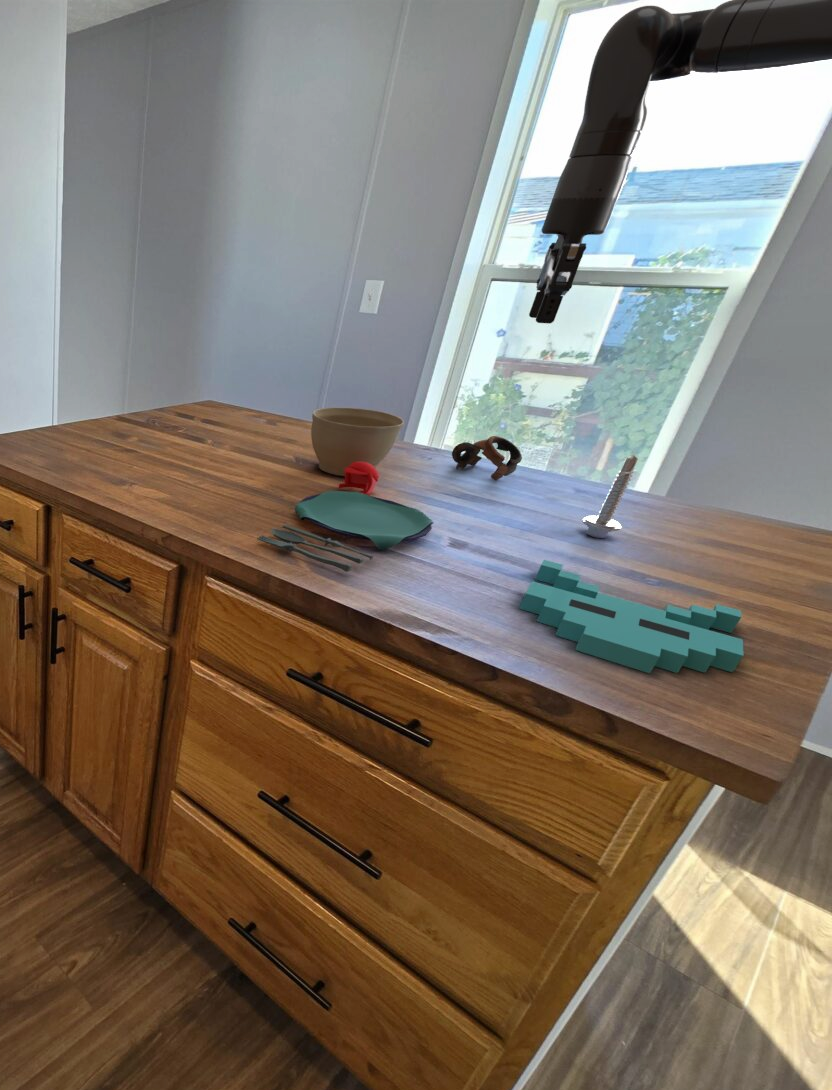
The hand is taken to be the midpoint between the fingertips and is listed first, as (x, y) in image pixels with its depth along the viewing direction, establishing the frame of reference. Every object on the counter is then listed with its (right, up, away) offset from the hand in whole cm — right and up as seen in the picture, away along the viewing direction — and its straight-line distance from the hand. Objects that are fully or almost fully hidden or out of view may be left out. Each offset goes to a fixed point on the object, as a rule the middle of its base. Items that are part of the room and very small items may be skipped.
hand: (539, 320), depth 100 cm
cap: (-19, -24, +20) cm, 36 cm away
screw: (+12, -33, +4) cm, 35 cm away
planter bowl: (-15, -17, +31) cm, 39 cm away
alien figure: (-6, -46, -20) cm, 51 cm away
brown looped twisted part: (+11, -18, +31) cm, 37 cm away
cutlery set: (-28, -32, +4) cm, 43 cm away
